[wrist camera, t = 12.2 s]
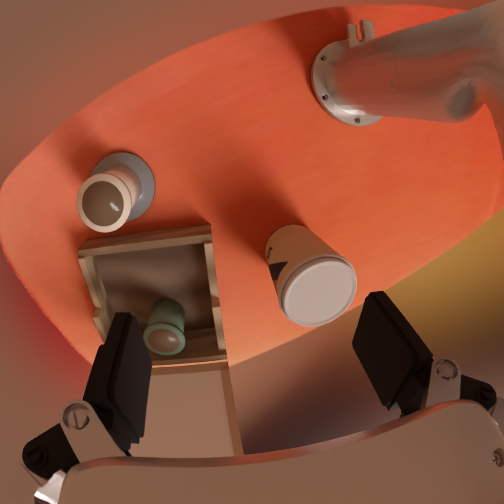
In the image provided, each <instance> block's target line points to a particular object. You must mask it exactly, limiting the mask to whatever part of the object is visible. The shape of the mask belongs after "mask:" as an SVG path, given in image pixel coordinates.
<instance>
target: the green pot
mask: <svg viewBox="0 0 504 504" xmlns="http://www.w3.org/2000/svg"><path fill="white" fill-rule="evenodd" d="M184 322H185V310H184V308H183V307H182V305H181V304H179V303H178V302H176V301H174V300H171V299H162V300H159V301H157V302H156V303H155V304H154V305H153V307H152V310H151V314H150V319H149V323H148V327H147V328H146V329H145V331H144V335H143V339H144V342H145V345H146V346H147V347H148V348H149V349H150V350H151V351H153V352H155V353H157V354H161V355H174V354H177V353H179V352H180V351H182V349H183V348H184V346H185V335H184Z"/></svg>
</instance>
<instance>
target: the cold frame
mask: <svg viewBox="0 0 504 504" xmlns="http://www.w3.org/2000/svg"><path fill="white" fill-rule="evenodd" d="M78 255H79V259H78V261H79V264H80V267H81V270H82V273H83V276H84V279H85V282H86V284H87V287H88V290H89V293H90V295H91V298H92V300H93V303H94V306H95V308H96V310H95V312H94V315H93V317H92V319H93V321H94V323H95V325H96V328H97V330H98V332H99V334H100V336H101V338H102V341H103V343H104V344H105V341H106V338H107V335H108V332H109V329H110V326H111V323H112V321H113V318H114V315H115V313H116V312H130V313H131V315H132V316H136V319H137V322H138V325H139V328H140V331H141V334H142V337H143V335H144V331H145V329H146V328H147V327H148V323H149V319H150V314H151V310H152V307H153V305H154V304H155V303H156V302H157V301H159V300H162V299H171V300H174V301H176V302H178V303H179V304H181V305H182V307H183V308H184V310H185V322H184V335H185V346H184V348H183V349H182V351H180V352H179V353H177V354H174V355H161V354H157V353H155V352H153V351H151V350H150V349H149V348H148V347H147V346H146V348H147V351H148V353H149V356H150V359H151V362H152V366H153V365H170V364H184V363H196V362H206V361H215V360H224V359H227V353H226V346H225V339H224V332H223V325H222V318H221V310H220V302H219V295H218V287H217V278H216V270H215V261H214V253H213V243H212V234H211V224H206V225H196V226H188V227H179V228H171V229H162V230H154V231H147V232H139V233H131V234H124V235H117V236H109V237H102V238H96V239H89V240H86V241H85V242H84V243H83V244H82V246H81V247H80V248H79V249H78Z"/></svg>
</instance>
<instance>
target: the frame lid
mask: <svg viewBox="0 0 504 504" xmlns="http://www.w3.org/2000/svg"><path fill="white" fill-rule="evenodd" d="M129 451H130V453H131V454H132V455H133V456H134V457H158V458H212V457H229V456H241V455H244V454H243V448H242V443H241V438H240V432H239V427H238V421H237V416H236V410H235V404H234V398H233V392H232V386H231V379H230V373H229V366H228V361H227V362H218V363H209V364H199V365H188V366H175V367H159V368H152V371H151V378H150V385H149V393H148V401H147V410H146V420H145V431H144V437H143V438H140V442H139V444H134V443H131V448H130V450H129Z"/></svg>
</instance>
